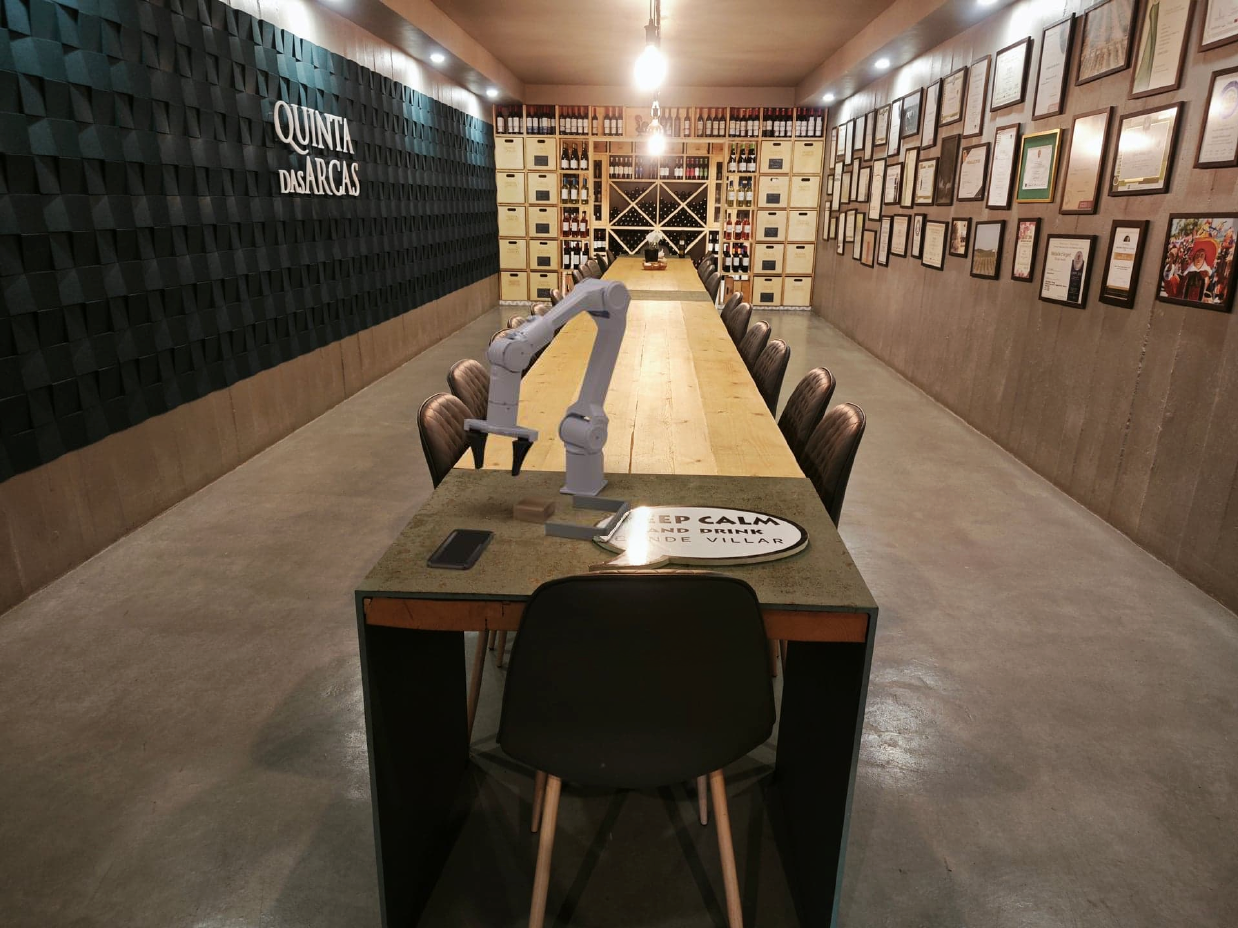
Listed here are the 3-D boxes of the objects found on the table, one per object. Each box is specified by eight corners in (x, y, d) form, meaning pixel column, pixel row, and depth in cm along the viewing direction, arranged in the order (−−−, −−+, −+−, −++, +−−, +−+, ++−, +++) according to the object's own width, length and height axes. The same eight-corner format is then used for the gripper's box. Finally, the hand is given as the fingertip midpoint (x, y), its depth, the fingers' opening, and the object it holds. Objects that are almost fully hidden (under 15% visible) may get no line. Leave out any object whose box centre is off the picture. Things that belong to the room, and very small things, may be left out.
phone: (424, 563, 131) (454, 528, 145) (424, 569, 131) (455, 533, 145) (469, 566, 130) (496, 531, 144) (470, 572, 130) (496, 536, 144)
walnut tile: (526, 510, 157) (526, 496, 156) (554, 514, 155) (554, 500, 154) (513, 521, 151) (513, 506, 150) (542, 525, 149) (542, 510, 148)
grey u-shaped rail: (574, 505, 159) (574, 494, 158) (630, 512, 155) (630, 500, 155) (545, 534, 144) (545, 522, 144) (606, 542, 141) (606, 530, 140)
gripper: (458, 398, 146) (453, 468, 149) (530, 410, 143) (523, 482, 146) (475, 395, 153) (469, 462, 156) (544, 406, 150) (537, 475, 152)
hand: (496, 471), depth 151 cm, fingers open, 7 cm apart
